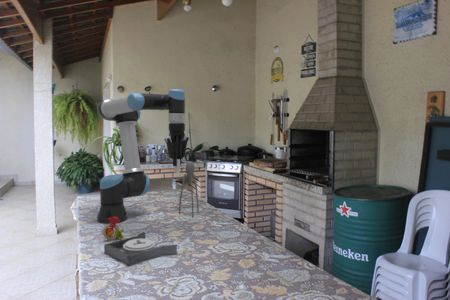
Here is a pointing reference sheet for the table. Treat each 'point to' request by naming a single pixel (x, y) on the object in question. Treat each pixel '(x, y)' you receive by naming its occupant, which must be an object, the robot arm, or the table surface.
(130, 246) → the grey pulley wheel
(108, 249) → the steel bracket
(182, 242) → the table surface
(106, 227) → the bird rattle
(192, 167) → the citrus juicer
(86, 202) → the table surface
